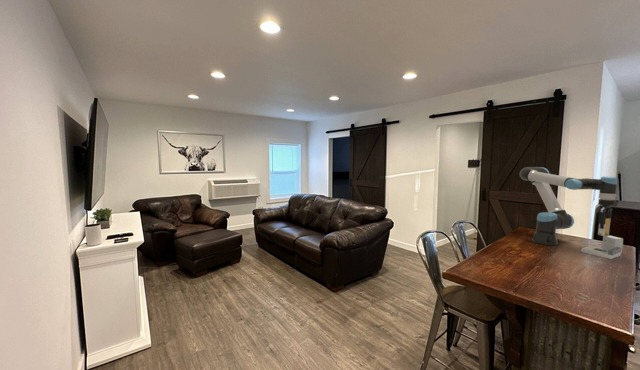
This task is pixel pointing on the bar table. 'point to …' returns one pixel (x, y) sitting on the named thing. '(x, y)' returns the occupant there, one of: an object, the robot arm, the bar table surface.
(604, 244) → the small box
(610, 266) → the bar table surface
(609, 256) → the plate
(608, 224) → the bushing
